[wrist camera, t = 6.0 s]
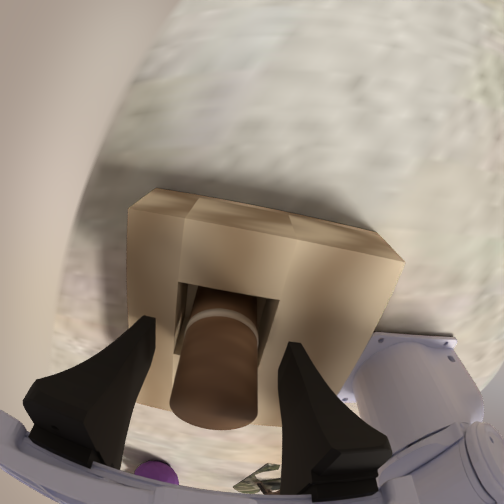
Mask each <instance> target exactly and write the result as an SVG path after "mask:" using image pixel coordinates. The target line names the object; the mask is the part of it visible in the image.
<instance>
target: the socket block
mask: <svg viewBox="0 0 504 504" xmlns="http://www.w3.org/2000/svg"><path fill="white" fill-rule="evenodd" d="M405 263H406V262H405V261H404V260H403V259H402V258H401V257H400V256H399V255H398V254H397V253H396V252H395V251H394V250H393V248H392V247H391V246H390V245H389V244H388V243H387V242H386V241H385V240H384V239H383V238H382V237H381V236H380V235H379V234H378V233H377V232H373V231H369V230H365V229H360V228H356V227H352V226H348V225H344V224H339V223H335V222H331V221H326V220H322V219H317V218H313V217H308V216H304V215H299V214H294V213H290V212H285V211H280V210H275V209H270V208H265V207H260V206H255V205H250V204H245V203H240V202H234V201H229V200H224V199H218V198H213V197H207V196H201V195H196V194H190V193H184V192H178V191H172V190H165V189H159V188H155V189H154V190H152V191H151V192H150V193H148V194H147V195H146V196H144V197H143V198H141V199H140V200H139V201H137V202H136V203H135V204H133V205H132V206H131V207H129V208H128V221H127V260H126V270H127V309H128V327H129V328H130V327H131V326H132V325H133V324H134V323H135V322H136V321H137V320H138V319H139V318H140V317H142V316H143V315H146V316H150V317H154V318H156V349H155V353H154V356H153V360H152V363H151V366H150V369H149V371H148V374H147V376H146V378H145V381H144V383H143V385H142V388H141V390H140V393H139V395H138V397H137V400H136V402H137V403H139V404H143V405H147V406H151V407H155V408H159V409H163V410H167V411H172V410H171V408H170V405H169V401H170V397H171V392H172V388H173V383H174V379H175V375H176V371H177V366H178V362H179V358H180V354H181V350H182V346H183V342H184V334H185V330H186V326H187V324H188V322H189V318H190V314H191V311H192V307H193V303H194V299H195V295H196V292H197V288H198V286H203V287H208V288H214V289H219V290H224V291H230V292H236V293H241V294H247V295H253V296H257V331H258V349H257V362H258V415H257V417H256V419H255V420H254V421H253V422H252V423H250V424H254V425H265V426H278V427H282V421H281V413H280V405H279V396H278V368H279V365H280V363H281V360H282V358H283V355H284V352H285V350H286V347H287V344H288V342H289V341H290V342H298V343H301V344H302V345H303V347H304V349H305V350H306V352H307V354H308V356H309V357H310V359H311V361H312V362H313V364H314V365H315V367H316V369H317V370H318V372H319V373H320V375H321V376H322V378H323V379H324V380H325V382H326V383H327V384H328V386H329V387H330V388H331V390H332V391H333V392H334V393H335V394H336V395H337V394H338V393H339V391H340V390H341V388H342V386H343V385H344V383H345V381H346V380H347V378H348V376H349V375H350V373H351V371H352V370H353V368H354V366H355V365H356V363H357V361H358V359H359V358H360V356H361V354H362V352H363V350H364V349H365V347H366V345H367V343H368V341H369V339H370V337H371V336H372V334H373V332H374V330H375V328H376V326H377V324H378V322H379V320H380V318H381V316H382V314H383V312H384V310H385V308H386V306H387V304H388V301H389V299H390V297H391V295H392V293H393V291H394V288H395V286H396V284H397V282H398V279H399V277H400V275H401V272H402V270H403V268H404V265H405ZM172 412H173V411H172Z"/></svg>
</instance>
